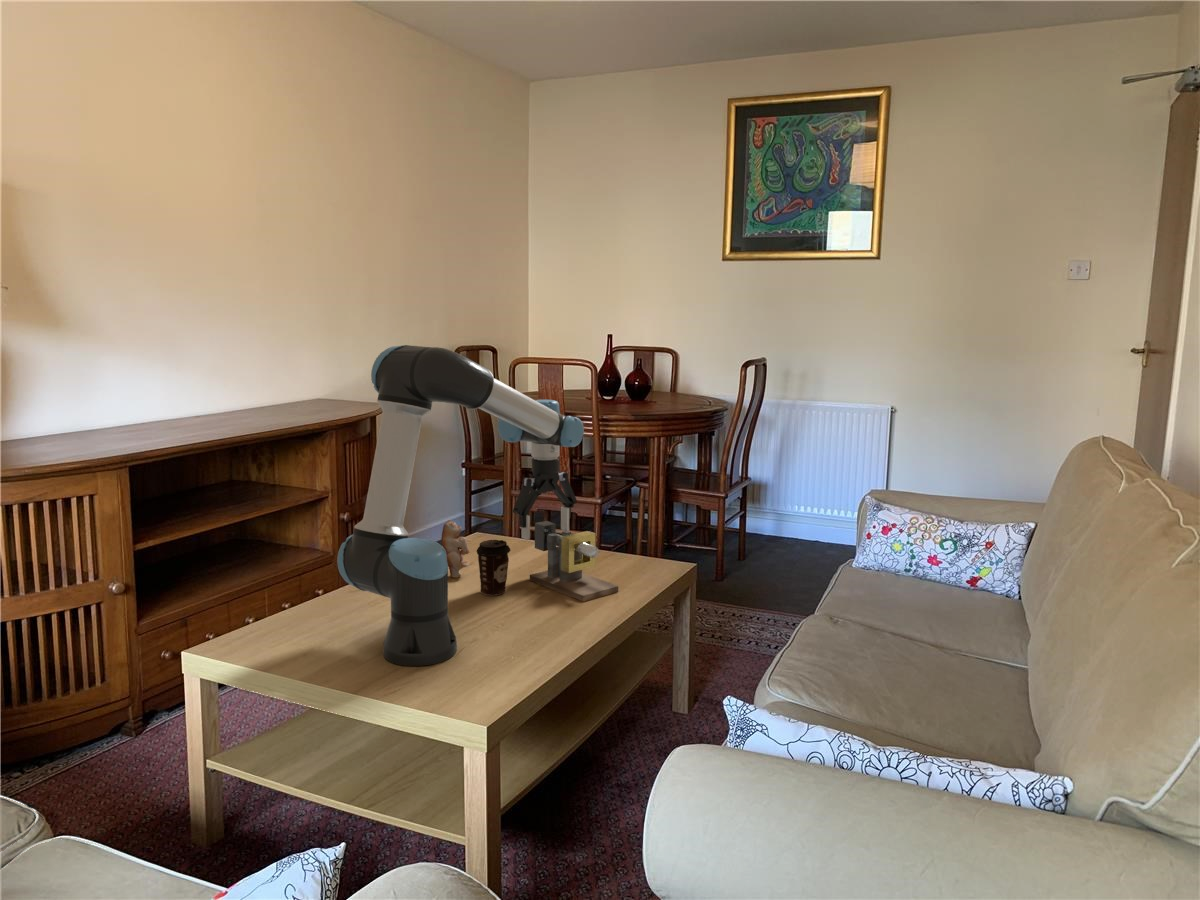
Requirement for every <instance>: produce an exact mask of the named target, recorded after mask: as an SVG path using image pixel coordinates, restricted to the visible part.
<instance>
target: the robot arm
mask: <svg viewBox="0 0 1200 900" xmlns="http://www.w3.org/2000/svg"><path fill="white" fill-rule="evenodd" d="M370 374H371V375H370V376H371V383H372V384H373V388H374V390H375V391H376V392H377V393H378V395H377V396H378V397H377V400H376V404H378V405H379V407H380V408H381V411H382V414H381V418H380V424H379V430H378V434H377V441H376V446H375V452H374V457H373V462H372V468H371V472H370V473H371V474H370V478H369V479H370V480H369V484H368V485H369V486H368V489H367V490H368V491H367V496H366V501H365V507H364V512H363V518H362V520H360V521H359V522H358V523H357V524H355V525H354V528H353V531H352V532H353V533H352V534H351V535H349V536H348V537H346V539H345V541H344V542H342V543H341V545H340V547H339V550H338V553H337V558H336V559H337V561H336V562H337V568H338V571H339V574H340V576H341V577H342V579H343V580H344V581H345V582H346V583H347V584H348V585H350V586H352V587H355V589H358V590H360V591H362V592H369V593H372V594H375V595H379V596H382V597H385V598H388V599H390V622H389V624H388V628H387V631H386V634H385V637H384V640H383V645H382V651H383V658H384V659H385V660H386V661H387V662H389V663H392V664H394V665H398V666H406V667H423V666H424V667H425V666H429V665H430V666H431V665H436V664H439V663H443V662H444V661H446V660H449V659H451V658H452V657H454V655H456V653H457V652H458V651H457V650H458V645H457V641H458V640H457V637H456V635H455V632H454V628H453V626H452V623H451V620H450V617H449V608H448V607H449V605H448V602H449V597H448V596H449V587H448V586H449V567H448V563H447V555H446V551H445V549H444V548H443V545H442V544H440V543H438V542H436V541H435V540H431V539H428V538H424V537H423V538H418V537H409V533H408V531H407V530H406V528H405V527H404V522H405V517H406V512H407V511H406V510H407V504H408V499H409V495H410V494H409V493H410V489H411V488H410V487H411V483H412V477H413V473H414V466H415V460H416V455H417V451H418V450H417V449H418V443H419V438H420V431H421V427H422V421H423V418H424V417H426V416H427V415H428V414H429V413H431V411H432V408H433V407H432V406H433V402H435V403H436V402H437V403H446V404H454V405H459V406H462V407H464V408H466V409H469V410H476V409H479V410H481V411H483V412H485V413H487V414H489V415H492V416H494V417H495V418H497V419H499V420H498V422H497V431H498V434H499V436H500V438H501V439H502V440H503V441H505V442H507V443H518V442H528V443H531V450H530V451H531V454H530V455H531V457H532V459H531V472H532V476H531V478H529V477H523V478H522V481H521V482H522V484H521V488H520V490H519V493H518V496H517V499H516V501H515V504H514V507H513V509H512V513H513V514H516V515H518V517H519V521H518V522H519V523H518V524H519V527H520V528H521V532H520V533H521V539H524V540H527V541H528V540H529V541H530V540H531V532H530V531H531V528H530V527H531V524H530V523H531V517H530V515H528V514H529V512H530V511H531V509H532V508H533V507H534V504H535V502H536V501H537V499H538V498H539V497H540V496H541V495H542V494H545V493H547V492H551V493H554V495H555V496H556V498H557V499H558V500H559V501H560V503H561V504H562V506H560V530H562V531H569V532H570V519H571V517H572V508H574V506H575V505H576V504H577V503H578V501H577V498H576V494H575V493H574V490H573V487H572V485H571V483H570V480H569V474H568V473H567V472H563V471H560V465H561V463H560V461H561V460H560V458H559V456H561V455H560V447H563V448H566V447H567V448H575V447H577V446H578V445H580V443H581V442H582V440H583V436H584V434H585V433H584V430H585V429H584V423H583V422H582V420H581V419H580V418H579V417H576V416H572V415H564V414H561V412H560V403H559V402H558V401H557V400H554V399H533V398H531V397H530V396H527V395H526V394H524V393H522V392H521V391H519V390H516V389H515V388H513V387H511V386H509V385H508V384H506V383H504V382H502V381H500V380H499V379H497V378H494V375H493V373H492V372H491V371H490V369H488V368H486V367H484V366H483V365H480V364H479V363H477V362H475V361H473V360H472V359H470V358H468V357H466V356H463V355H462V354H460V353H458V352H457V351H453V350H451V349H448V348H444V347H439V346H438V347H437V346H436V347H435V346H434V347H430V346H422V345H420V346H419V345H408V344H404V345H395V346H390V347H387V348H386V349H384V350H383V351H382V352H380V353H379V354H378V356H377V357H376V358H375V360H374V362H373V364H372V367H371V373H370ZM559 482H560V483H559ZM558 483H559V484H560V485H561V486H560V485H559V484H558ZM561 487H562V488H561ZM562 489H563V490H562Z"/></svg>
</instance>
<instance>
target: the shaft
mask: <svg viewBox="0 0 1200 900" xmlns="http://www.w3.org/2000/svg"><path fill="white" fill-rule="evenodd" d="M556 526H557V525H556V523H554V522H551V521H549V520H545V521H538V522H535V523H534V549H537V550H540V551H543V552H548V549H547V534H554V535H556V547H559V538H562V534H558V533H556V529H557V528H556ZM574 552H577V553H580V554H582V556H583V555H585V556H588V557H591V558H595V559H596V557H597V556H598V554H599V548H598V547H597V546H596V545H595V546H593V545H590V544H587V543H579V544H574Z"/></svg>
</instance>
